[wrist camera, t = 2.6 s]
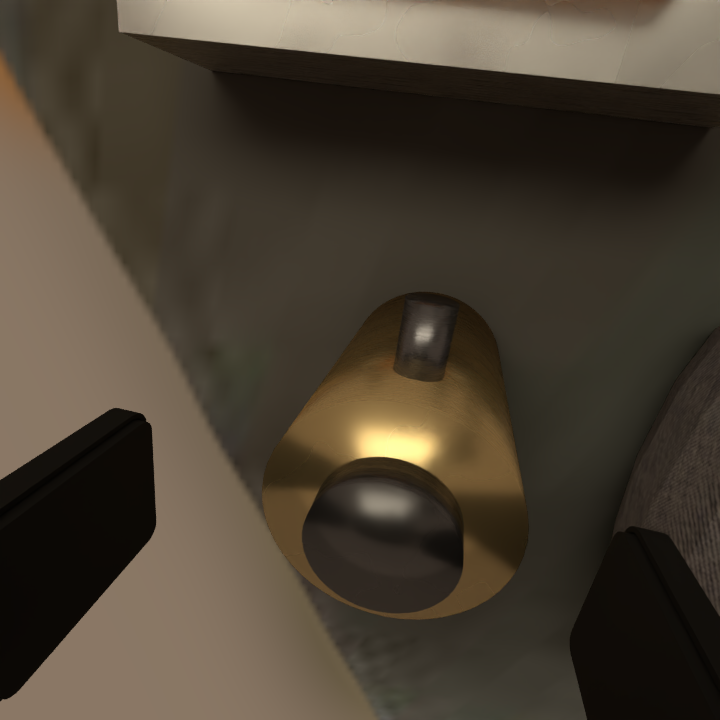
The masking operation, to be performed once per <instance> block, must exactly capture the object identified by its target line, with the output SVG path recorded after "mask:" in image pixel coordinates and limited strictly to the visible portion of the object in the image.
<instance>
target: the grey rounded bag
mask: <svg viewBox="0 0 720 720" xmlns="http://www.w3.org/2000/svg"><path fill="white" fill-rule="evenodd" d="M629 526H636V527H640V528H644V529H649V530H653V531H657V532H662V533H665V534H667V535H668V536H669V537H670V538H671V539H672V541H673V542H674V544H675V545H676V547H677V549H678V550H679V552H680V553H681V555H682V557H683V558H684V560H685V561H686V563H687V565H688V566H689V568H690V570H691V571H692V573H693V574H694V576H695V578H696V579H697V581H698V582H699V584H700V586H701V587H702V589H703V590H704V592H705V594H706V595H707V597H708V598H709V600H710V602H711V603H712V605H713V607H714V608H715V610H716V611H717V613H718V615H719V616H720V327H718V328H716V329H715V330H714V331H713V333H712V334H711V335H710V336H709V338H708V339H707V340H706V342H705V343H704V344H703V345H702V347H701V348H700V349H699V351H698V352H697V353H696V355H695V356H694V357H693V358H692V360H691V361H690V362H689V364H688V365H687V366H686V367H685V369H684V370H683V371H682V373H681V374H680V375H679V376H678V378H677V379H676V381H675V383H674V385H673V386H672V388H671V390H670V392H669V394H668V396H667V398H666V400H665V402H664V404H663V406H662V408H661V410H660V412H659V414H658V416H657V417H656V419H655V421H654V423H653V425H652V427H651V429H650V431H649V433H648V435H647V437H646V439H645V441H644V443H643V445H642V447H641V449H640V450H639V452H638V455H637V458H636V461H635V464H634V467H633V470H632V473H631V476H630V478H629V481H628V484H627V487H626V490H625V493H624V496H623V499H622V502H621V505H620V508H619V511H618V514H617V517H616V520H615V525H614V530H613V535H612V539H613V537H614V535H615V533H617V532H619V531H621V532H625V530H626V529H627V528H628V527H629ZM611 541H612V540H611Z"/></svg>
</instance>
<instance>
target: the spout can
mask: <svg viewBox="0 0 720 720" xmlns="http://www.w3.org/2000/svg"><path fill="white" fill-rule="evenodd" d="M262 502H263V508H264V513H265V517H266V520H267V524H268V527H269V529H270V531H271V534H272V536H273V538H274V540H275V542H276V543H277V545H278V547H279V548H280V550H281V551H282V553H283V554H284V556H285V557H286V558H287V559H288V561H289V562H290V563H291V564H292V565H293V567H294V568H295V569H296V570H297V571H298V572H299V573H300V574H301V575H302V576H304V577H305V578H306V579H307V580H308V581H310V582H311V583H312V584H313V585H314V586H316V587H317V588H319V589H320V590H322V591H323V592H325V593H326V594H328V595H330V596H331V597H333V598H335V599H337V600H339V601H341V602H343V603H345V604H347V605H350V606H352V607H354V608H357V609H360V610H363V611H366V612H369V613H373V614H377V615H381V616H385V617H392V618H399V619H433V618H440V617H446V616H450V615H454V614H458V613H461V612H464V611H466V610H469V609H471V608H474V607H476V606H478V605H480V604H481V603H483V602H485V601H487V600H488V599H490V598H491V597H492V596H494V595H495V594H496V593H498V592H499V591H500V590H501V589H502V588H503V587H504V586H505V585H506V584H507V583H508V582H509V581H510V579H511V578H512V576H513V575H514V574H515V572H516V571H517V569H518V567H519V565H520V563H521V561H522V559H523V557H524V553H525V549H526V546H527V542H528V531H529V524H528V512H527V506H526V501H525V495H524V490H523V484H522V479H521V473H520V468H519V462H518V457H517V451H516V446H515V440H514V435H513V429H512V424H511V418H510V413H509V407H508V402H507V396H506V391H505V385H504V380H503V374H502V369H501V363H500V358H499V352H498V348H497V344H496V340H495V338H494V335H493V333H492V331H491V329H490V328H489V326H488V324H487V323H486V322H485V321H484V319H483V318H482V317H481V316H480V315H479V314H478V313H477V312H476V311H475V310H474V309H472V308H471V307H470V306H468V305H467V304H465V303H464V302H462V301H460V300H458V299H456V298H453V297H451V296H448V295H444V294H440V293H433V292H415V293H408V294H404V295H401V296H398V297H395V298H393V299H391V300H389V301H387V302H385V303H384V304H382V305H381V306H380V307H378V308H377V309H376V310H375V311H374V312H373V313H372V314H371V315H370V316H369V317H368V318H367V320H366V321H365V322H364V324H363V325H362V327H361V328H360V329H359V331H358V332H357V334H356V335H355V336H354V338H353V339H352V341H351V342H350V343H349V345H348V346H347V348H346V349H345V350H344V352H343V353H342V355H341V356H340V357H339V359H338V360H337V362H336V363H335V365H334V366H333V367H332V369H331V370H330V372H329V373H328V374H327V376H326V377H325V379H324V380H323V381H322V383H321V384H320V386H319V387H318V388H317V390H316V391H315V393H314V394H313V395H312V397H311V398H310V400H309V401H308V403H307V404H306V405H305V407H304V408H303V410H302V411H301V412H300V414H299V415H298V417H297V418H296V419H295V421H294V422H293V424H292V425H291V426H290V428H289V429H288V431H287V432H286V433H285V435H284V436H283V438H282V439H281V441H280V442H279V443H278V445H277V446H276V448H275V449H274V451H273V453H272V455H271V457H270V459H269V461H268V463H267V466H266V470H265V473H264V478H263V486H262Z"/></svg>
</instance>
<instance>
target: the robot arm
mask: <svg viewBox="0 0 720 720" xmlns="http://www.w3.org/2000/svg"><path fill="white" fill-rule="evenodd" d="M152 445H153V444H152V428H151V425H150V423H148V422H146V418H145V417H144V415H143V414H141V413H137V412H132V411H128V410H124V409H119V408H113V409H111V410H109V411H107V412H106V413H104V414H103V415H101V416H99V417H98V418H96V419H95V420H93V421H92V422H90V423H89V424H87V425H85V426H84V427H82V428H81V429H79V430H78V431H76V432H74V433H73V434H72V435H70V436H68V437H67V438H65V439H64V440H62V441H60V442H59V443H58V444H56V445H54V446H53V447H51V448H50V449H48V450H47V451H45V452H43V453H42V454H40V455H39V456H37V457H36V458H34V459H32V460H31V461H29V462H28V463H26V464H25V465H23V466H22V467H20V468H18V469H17V470H15V471H14V472H12V473H11V474H9V475H8V476H6V477H5V478H3V479H1V480H0V701H1V700H2V699H8V698H10V697H11V696H13V695H14V694H15V693H17V691H19V690H20V688H21V687H22V686H23V685H24V684H25V682H26V681H28V679H29V678H30V677H31V676H32V675H33V673H34V672H35V671H36V670H37V669H38V668H39V667H40V666H41V664H42V663H43V662H44V661H45V660H46V659H47V657H48V656H49V655H50V654H51V653H52V652H53V651H54V649H55V648H56V647H57V646H58V645H59V643H60V642H61V641H62V640H63V639H64V638H65V637H66V635H67V634H68V633H69V632H70V631H71V630H72V628H74V626H75V625H76V624H77V623H78V622H79V621H80V619H81V618H82V617H83V616H84V615H85V614H86V613H87V611H88V610H89V609H90V608H91V607H92V606H93V604H94V603H95V602H96V601H97V600H98V599H99V597H100V596H101V595H102V594H103V593H104V592H105V590H106V589H107V588H108V587H109V586H110V585H111V584H112V583H113V581H114V580H115V579H116V578H117V577H118V576H119V574H120V573H121V572H122V571H123V570H124V569H125V567H126V566H127V565H128V564H129V563H130V562H131V561H132V560H133V558H134V557H135V556H136V555H137V554H138V553H139V551H140V550H141V549H142V548H143V547H144V546H145V544H146V543H147V542H148V541H149V540H150V538H151V536H152V535H153V532H154V530H155V527H156V510H155V509H156V508H155V486H154V465H153V446H152ZM570 652H571V656H572V660H573V664H574V668H575V672H576V676H577V680H578V684H579V688H580V692H581V696H582V700H583V704H584V708H585V712H586V716H587V720H720V616H719V615H718V613H717V611H716V610H715V608H714V607H713V605H712V603H711V602H710V600H709V598H708V597H707V595H706V594H705V592H704V590H703V589H702V587H701V586H700V584H699V582H698V581H697V579H696V578H695V576H694V574H693V573H692V571H691V570H690V568H689V566H688V565H687V563H686V561H685V560H684V558H683V557H682V555H681V553H680V552H679V550H678V549H677V547H676V545H675V544H674V542H673V541H672V539H671V538H670V537H669V536H668V535H667V534H665V533H662V532H657V531H653V530H649V529H644V528H640V527H636V526H629V527H628V528H627V529H626V530H625V532H621V531H619V532H617V533H615V535H614V537H613V539H612V541H611V543H610V546H609V548H608V550H607V552H606V555H605V557H604V559H603V561H602V564H601V566H600V568H599V570H598V573H597V575H596V577H595V579H594V582H593V584H592V586H591V588H590V591H589V593H588V595H587V597H586V600H585V602H584V604H583V606H582V609H581V611H580V613H579V615H578V618H577V620H576V622H575V624H574V627H573V629H572V632H571V636H570Z"/></svg>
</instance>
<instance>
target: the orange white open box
mask: <svg viewBox="0 0 720 720" xmlns="http://www.w3.org/2000/svg"><path fill="white" fill-rule="evenodd" d="M117 9H118V24H119V32H121V33H123V34H125V35H128V36H130V37H132V38H135V39H137V40H140V41H142V42H144V43H147V44H149V45H152V46H154V47H156V48H159V49H161V50H163V51H166V52H168V53H171V54H173V55H175V56H178V57H180V58H182V59H185V60H187V61H190V62H192V63H194V64H197V65H199V66H202V67H204V68H206V69H209V70H211V71H220V72H228V73H237V74H246V75H255V76H263V77H272V78H281V79H290V80H298V81H307V82H316V83H325V84H333V85H342V86H351V87H360V88H368V89H377V90H386V91H395V92H403V93H412V94H421V95H430V96H438V97H447V98H456V99H464V100H473V101H482V102H491V103H499V104H508V105H517V106H526V107H534V108H543V109H552V110H561V111H569V112H578V113H587V114H596V115H604V116H613V117H622V118H631V119H639V120H648V121H657V122H666V123H674V124H683V125H692V126H701V127H709V128H713V127H718V126H720V0H117Z"/></svg>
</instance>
